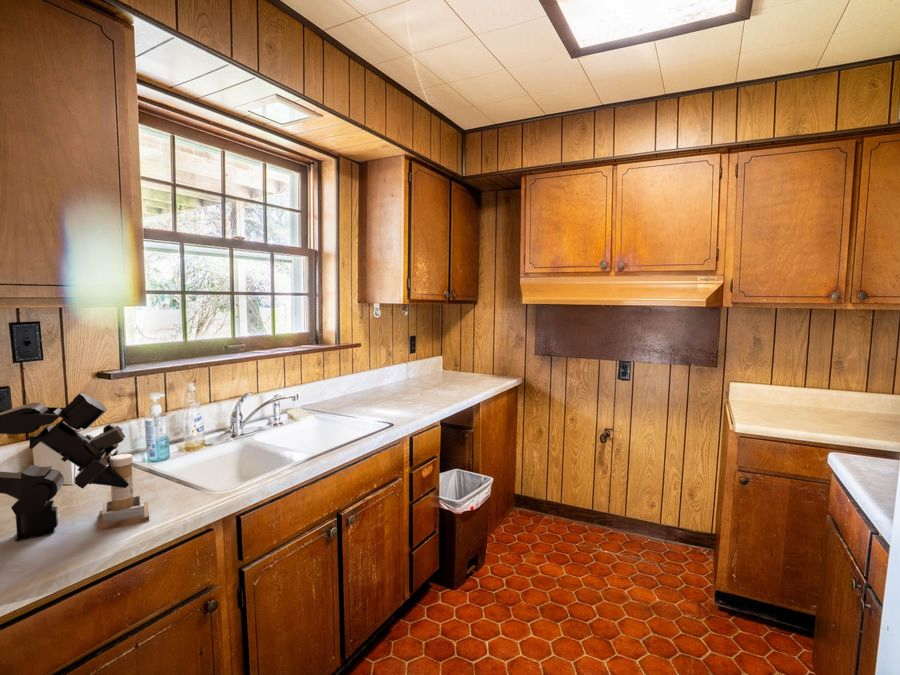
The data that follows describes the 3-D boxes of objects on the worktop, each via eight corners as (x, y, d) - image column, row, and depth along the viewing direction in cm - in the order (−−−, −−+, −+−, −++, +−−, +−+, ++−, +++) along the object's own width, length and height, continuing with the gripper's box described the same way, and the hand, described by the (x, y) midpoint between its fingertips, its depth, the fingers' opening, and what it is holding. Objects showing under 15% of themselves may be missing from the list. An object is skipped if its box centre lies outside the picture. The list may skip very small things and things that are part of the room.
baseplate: (97, 531, 109) (97, 527, 109) (99, 514, 117) (99, 510, 117) (149, 520, 115) (149, 516, 114) (147, 505, 123) (147, 501, 123)
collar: (102, 524, 110) (102, 514, 110) (103, 511, 117) (103, 501, 117) (144, 515, 115) (144, 505, 115) (143, 503, 121) (143, 494, 121)
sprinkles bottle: (118, 506, 118) (116, 453, 117) (138, 505, 118) (136, 452, 117) (107, 514, 113) (105, 459, 112) (127, 514, 114) (125, 459, 113)
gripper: (91, 427, 104) (151, 469, 110) (106, 409, 120) (158, 446, 126) (46, 467, 101) (111, 508, 107) (69, 443, 117) (124, 479, 123)
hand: (128, 482), depth 116 cm, fingers closed on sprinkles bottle, 4 cm apart
